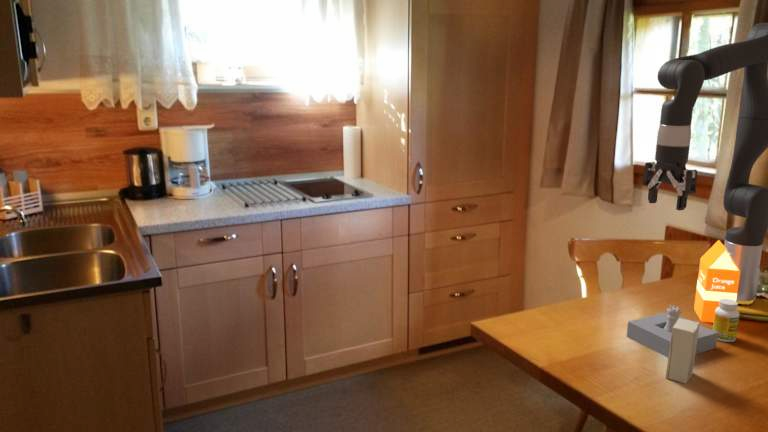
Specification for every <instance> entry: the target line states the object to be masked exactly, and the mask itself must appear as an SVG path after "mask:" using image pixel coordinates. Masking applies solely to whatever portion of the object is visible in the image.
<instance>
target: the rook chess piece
mask: <svg viewBox="0 0 768 432" xmlns="http://www.w3.org/2000/svg"><path fill="white" fill-rule="evenodd" d="M672 305H673V304H672ZM672 305H669V306H668V308H666V312H668V315H667V317H668V319H667V323H666V326H665V327H664V330H667V331H669V332H671V333H672V328H673V326H674V324H675V323H676V321H677V320H678V318H680V317H681V316H680V315H681V314H682V311H681V308H680V307H679V306H676V305H673V306H672ZM679 316H680V317H679Z"/></svg>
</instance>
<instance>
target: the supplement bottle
mask: <svg viewBox="0 0 768 432" xmlns="http://www.w3.org/2000/svg"><path fill="white" fill-rule="evenodd" d="M719 306H720V307H717V308H716V309H715V314H714V322H712V323H713V324H712V328H711V330H713V331H715V332H717V333H718V334H717V341H720V342H725V343H731V342H735V341H736V340H737V335H738V328H739V321H740V312H739V310H738V307H739V305H738V302H736V301H734V300H731V299H720V301H719Z"/></svg>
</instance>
